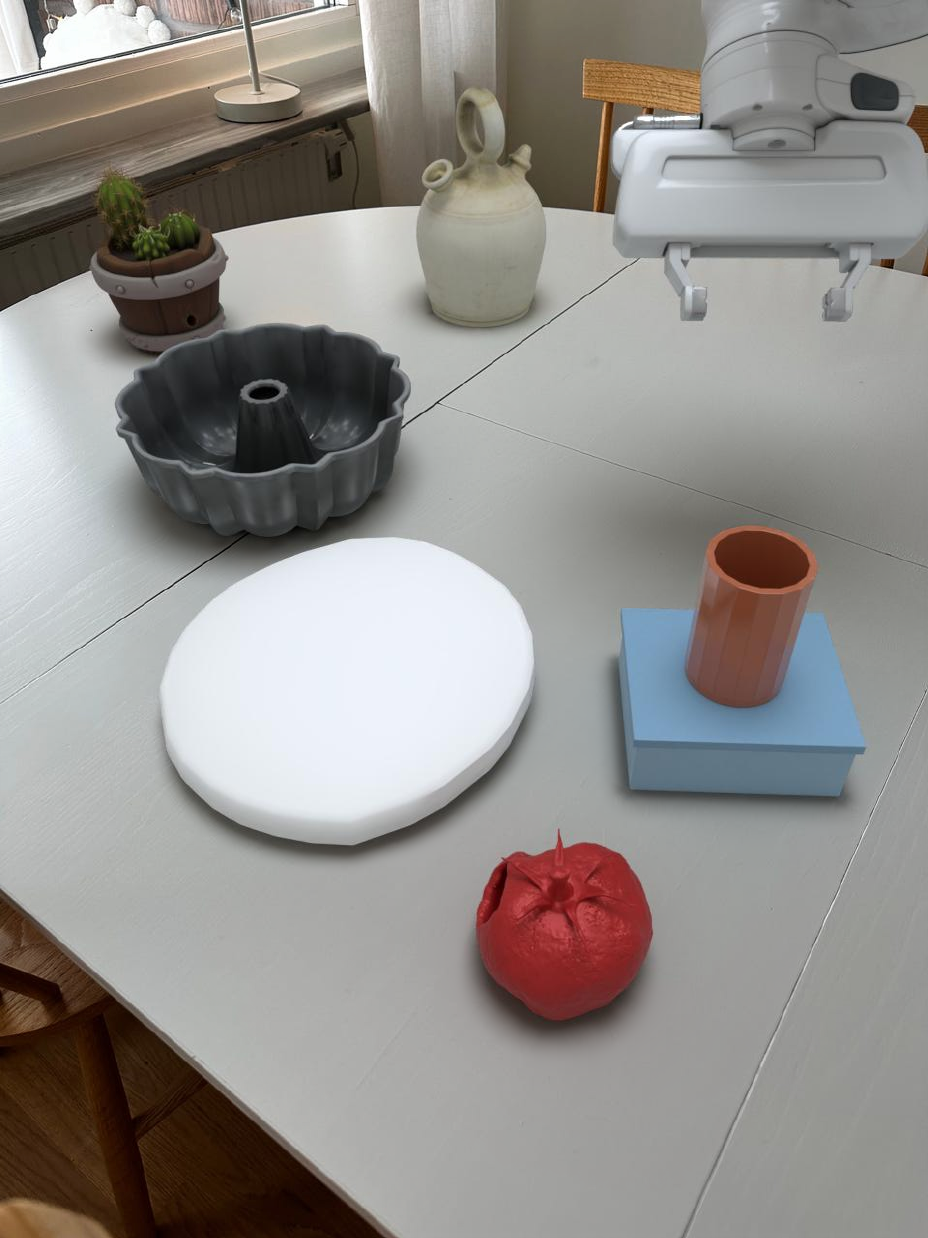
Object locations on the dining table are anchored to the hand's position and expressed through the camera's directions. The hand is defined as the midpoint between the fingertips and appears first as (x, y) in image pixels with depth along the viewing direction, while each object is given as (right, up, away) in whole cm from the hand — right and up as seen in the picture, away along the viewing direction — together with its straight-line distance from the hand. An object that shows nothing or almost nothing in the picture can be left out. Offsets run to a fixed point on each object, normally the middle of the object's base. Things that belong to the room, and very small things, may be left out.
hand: (765, 318), depth 65 cm
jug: (-18, +18, +57) cm, 62 cm away
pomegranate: (-14, -40, -7) cm, 43 cm away
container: (-1, -28, +6) cm, 29 cm away
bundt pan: (-38, -7, +30) cm, 49 cm away
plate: (-28, -26, +9) cm, 39 cm away
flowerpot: (-54, +13, +52) cm, 76 cm away
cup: (-2, -24, +2) cm, 24 cm away
